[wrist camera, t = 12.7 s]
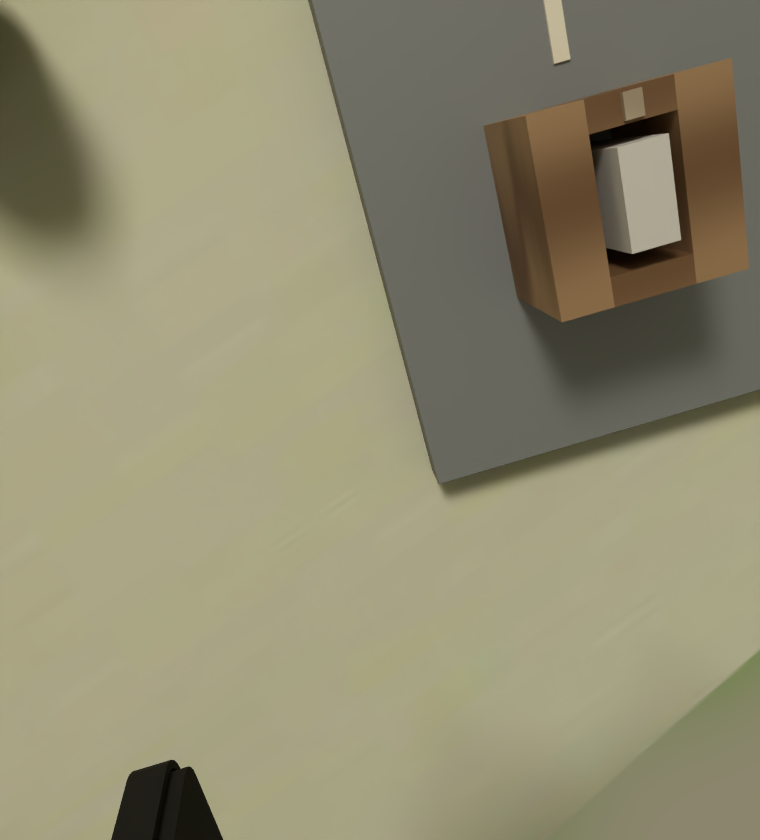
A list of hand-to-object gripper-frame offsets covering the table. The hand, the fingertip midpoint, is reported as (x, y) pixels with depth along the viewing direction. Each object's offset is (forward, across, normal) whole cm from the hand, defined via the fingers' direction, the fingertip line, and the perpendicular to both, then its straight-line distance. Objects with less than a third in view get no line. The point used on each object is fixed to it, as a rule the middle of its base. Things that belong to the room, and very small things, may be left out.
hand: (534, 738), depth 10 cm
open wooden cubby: (+19, -10, -5) cm, 22 cm away
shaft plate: (+21, -10, -5) cm, 24 cm away
